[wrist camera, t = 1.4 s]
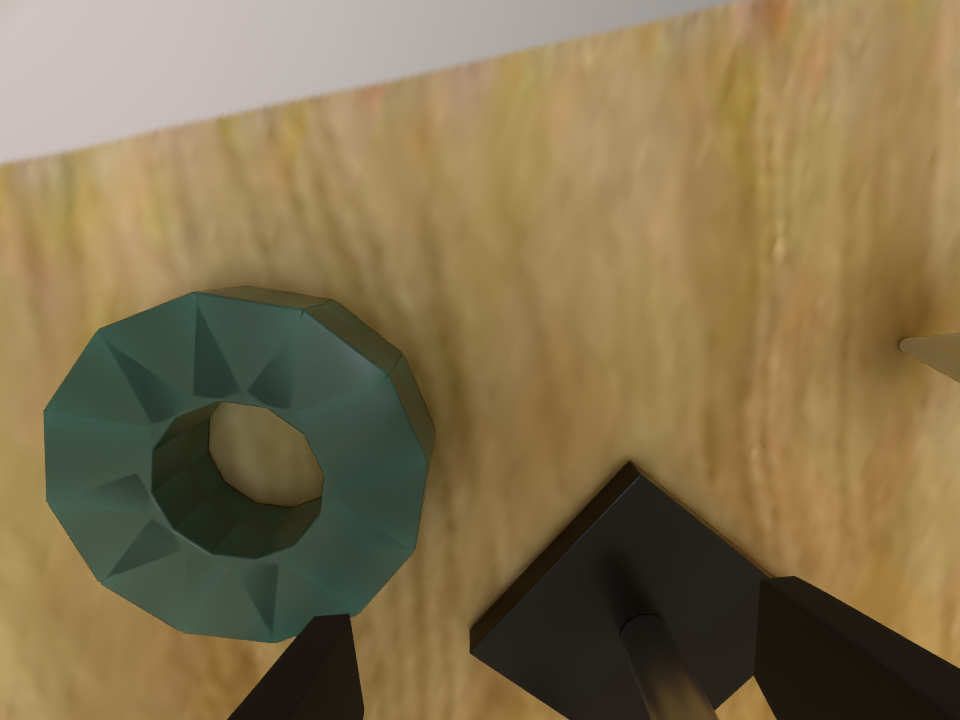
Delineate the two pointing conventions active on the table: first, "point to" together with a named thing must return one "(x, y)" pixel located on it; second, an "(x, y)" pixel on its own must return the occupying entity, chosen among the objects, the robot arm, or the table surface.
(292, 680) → the robot arm
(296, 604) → the ring
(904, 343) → the ice cream cone
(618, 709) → the peg stand
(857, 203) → the table surface
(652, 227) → the table surface
